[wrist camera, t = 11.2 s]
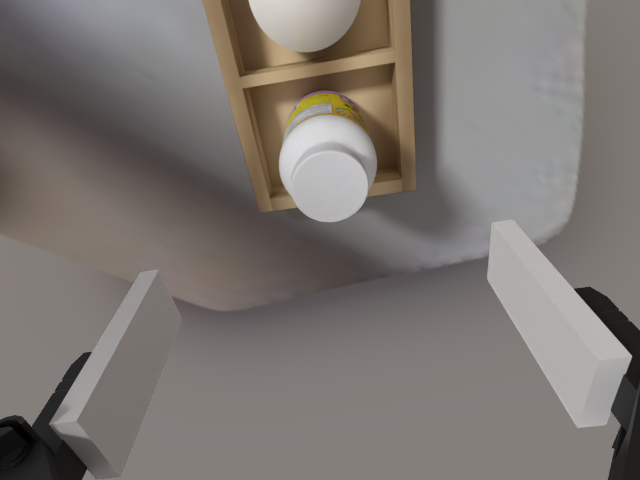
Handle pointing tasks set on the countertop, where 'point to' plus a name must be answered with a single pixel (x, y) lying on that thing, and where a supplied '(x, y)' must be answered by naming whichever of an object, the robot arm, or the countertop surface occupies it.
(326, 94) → the supplement bottle
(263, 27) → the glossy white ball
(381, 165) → the rack
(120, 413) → the robot arm
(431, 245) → the countertop surface
